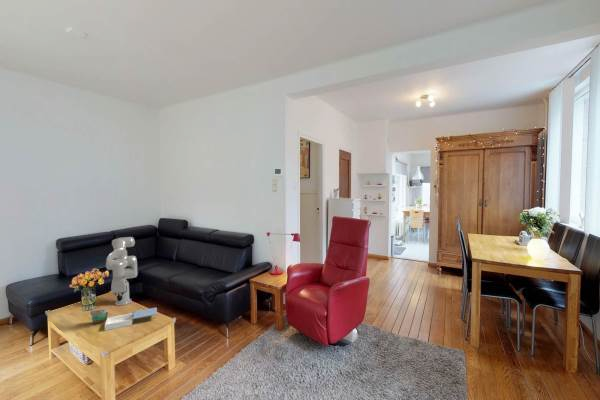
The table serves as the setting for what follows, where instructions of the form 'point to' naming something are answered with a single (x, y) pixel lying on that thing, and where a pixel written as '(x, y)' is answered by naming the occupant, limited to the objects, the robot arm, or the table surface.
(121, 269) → the robot arm
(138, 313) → the lid
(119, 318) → the white rectangular tray
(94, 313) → the food container
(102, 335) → the table surface
